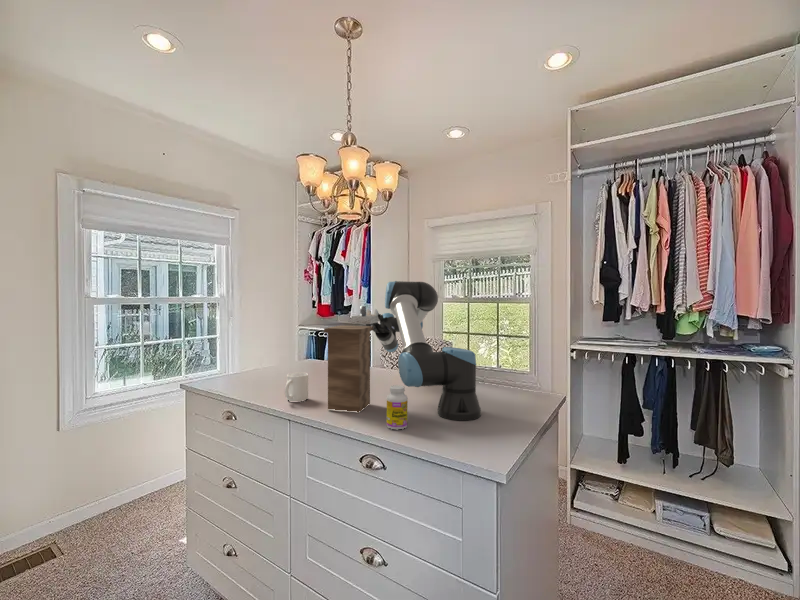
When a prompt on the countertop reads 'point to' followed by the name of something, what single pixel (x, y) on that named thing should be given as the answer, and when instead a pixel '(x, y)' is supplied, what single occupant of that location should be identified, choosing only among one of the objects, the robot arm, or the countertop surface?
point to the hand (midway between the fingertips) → (371, 312)
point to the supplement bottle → (397, 408)
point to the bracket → (364, 317)
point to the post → (348, 367)
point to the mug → (297, 387)
